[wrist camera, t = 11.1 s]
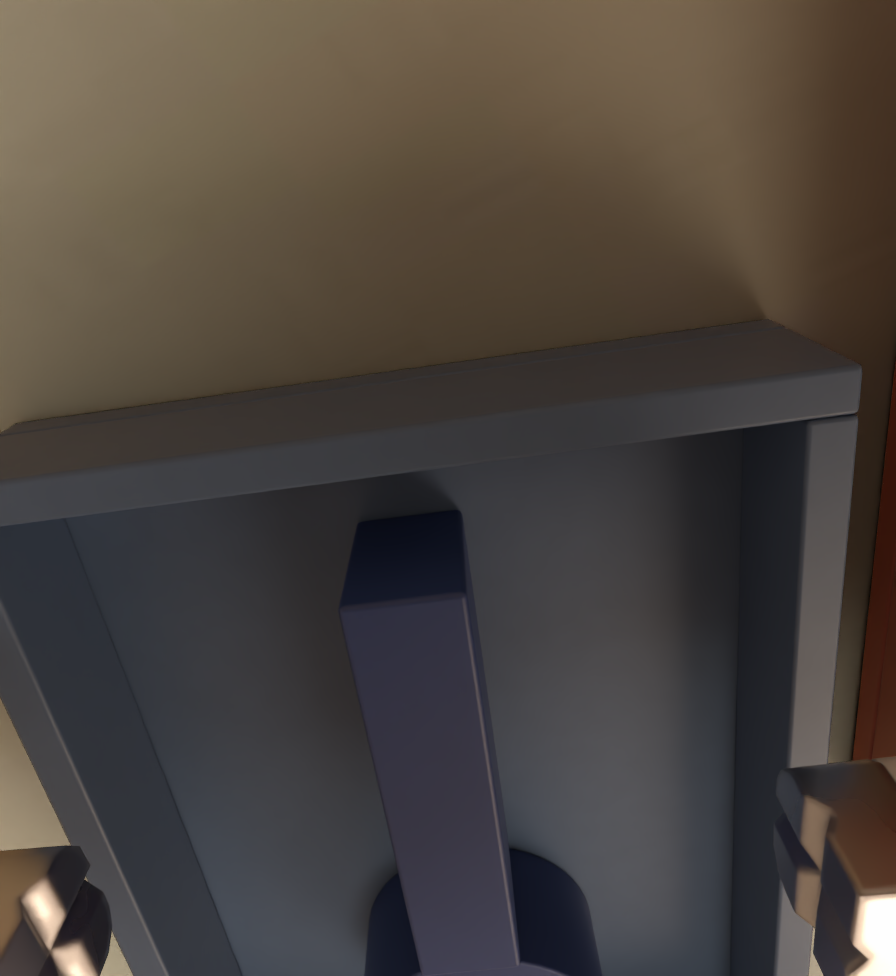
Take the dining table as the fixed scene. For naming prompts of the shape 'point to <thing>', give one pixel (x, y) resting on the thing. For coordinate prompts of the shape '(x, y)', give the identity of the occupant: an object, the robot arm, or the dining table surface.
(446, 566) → the blue spoon
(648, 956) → the blue tray
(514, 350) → the dining table surface
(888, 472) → the red tray
